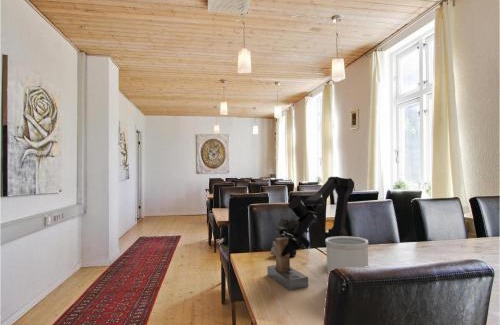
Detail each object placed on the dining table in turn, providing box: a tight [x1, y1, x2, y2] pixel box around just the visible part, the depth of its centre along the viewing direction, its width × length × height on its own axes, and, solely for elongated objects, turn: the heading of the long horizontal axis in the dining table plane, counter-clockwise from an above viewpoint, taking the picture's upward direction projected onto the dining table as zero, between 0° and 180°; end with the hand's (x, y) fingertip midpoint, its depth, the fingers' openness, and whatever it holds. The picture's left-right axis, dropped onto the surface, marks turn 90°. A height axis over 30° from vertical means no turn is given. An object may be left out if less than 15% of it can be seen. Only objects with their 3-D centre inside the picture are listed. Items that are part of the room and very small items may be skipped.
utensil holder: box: [324, 235, 369, 276], centre depth 109 cm, size 15×15×18 cm
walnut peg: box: [275, 237, 291, 272], centre depth 121 cm, size 4×4×13 cm
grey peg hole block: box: [266, 264, 309, 291], centre depth 118 cm, size 18×8×4 cm, turn 22°
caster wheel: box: [269, 240, 297, 257], centre depth 154 cm, size 7×11×10 cm
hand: (279, 254), depth 121 cm, fingers closed on walnut peg, 4 cm apart
